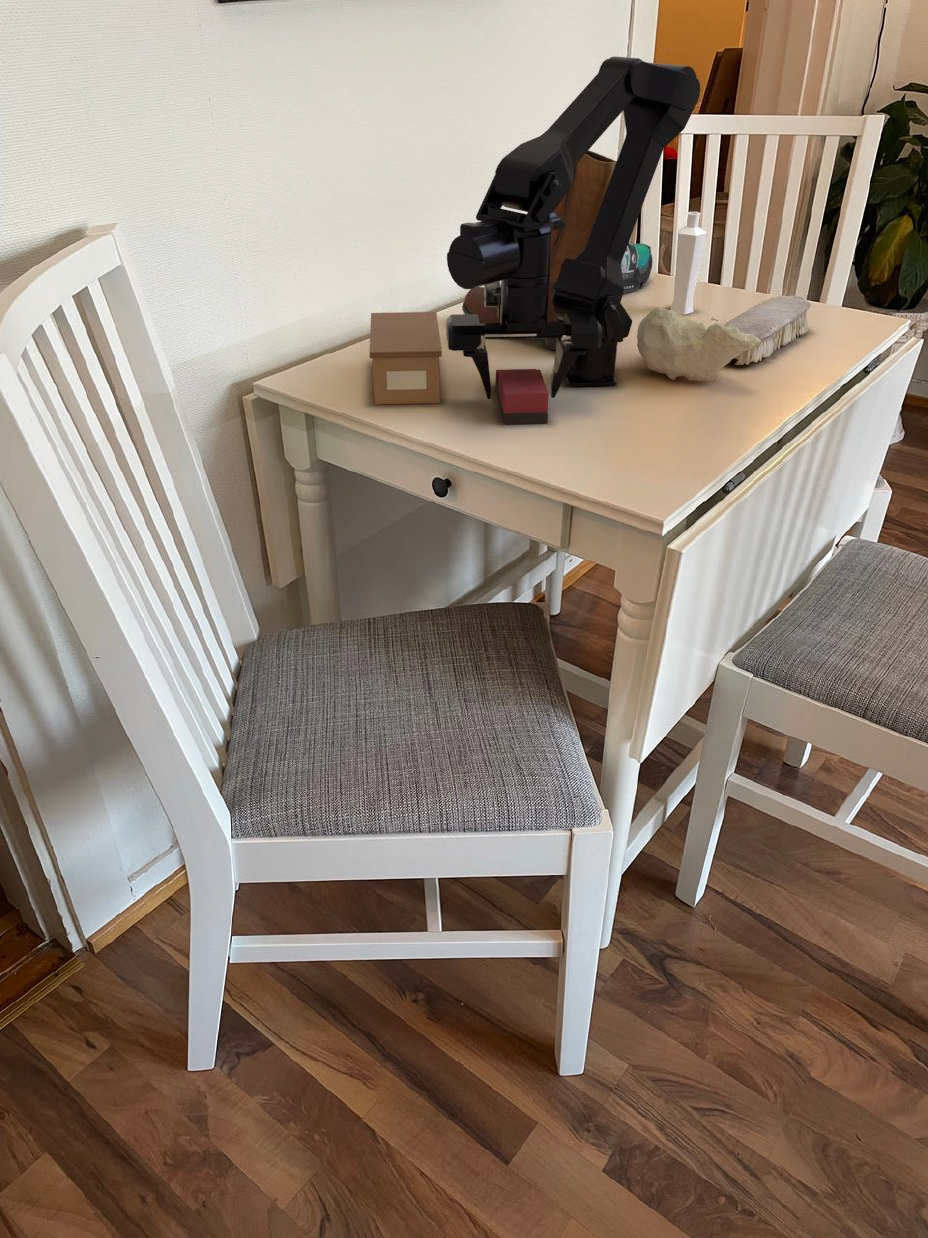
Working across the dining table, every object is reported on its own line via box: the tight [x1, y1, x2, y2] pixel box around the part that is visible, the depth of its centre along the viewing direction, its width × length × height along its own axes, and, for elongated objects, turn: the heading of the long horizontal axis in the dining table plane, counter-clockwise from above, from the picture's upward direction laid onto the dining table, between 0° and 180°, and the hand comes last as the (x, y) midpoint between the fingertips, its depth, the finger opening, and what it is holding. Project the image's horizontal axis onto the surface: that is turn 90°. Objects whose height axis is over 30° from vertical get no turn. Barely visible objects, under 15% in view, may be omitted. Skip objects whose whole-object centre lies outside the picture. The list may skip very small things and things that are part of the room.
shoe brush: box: [723, 295, 812, 366], centre depth 141 cm, size 24×8×5 cm, turn 143°
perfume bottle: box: [669, 211, 708, 316], centre depth 152 cm, size 5×4×15 cm
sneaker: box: [621, 241, 653, 294], centre depth 162 cm, size 9×24×15 cm, turn 134°
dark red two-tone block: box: [494, 368, 550, 425], centre depth 122 cm, size 5×12×4 cm, turn 4°
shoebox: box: [369, 311, 443, 405], centre depth 128 cm, size 9×16×7 cm, turn 4°
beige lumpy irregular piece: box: [636, 307, 761, 383], centre depth 130 cm, size 15×7×15 cm
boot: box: [461, 149, 617, 352], centre depth 138 cm, size 25×9×27 cm, turn 39°
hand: (520, 397), depth 123 cm, fingers open, 8 cm apart
